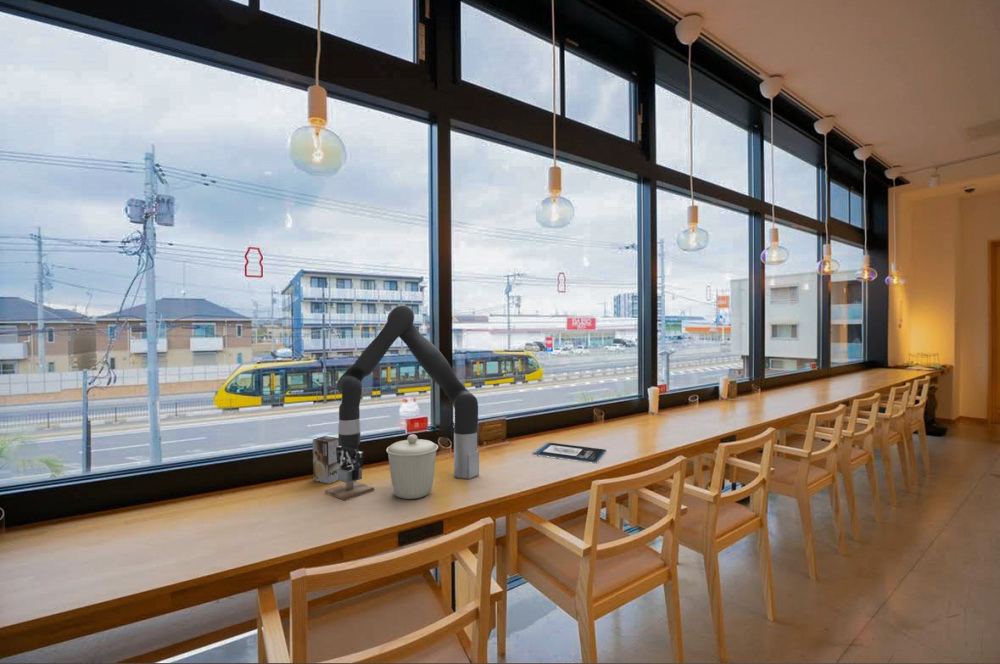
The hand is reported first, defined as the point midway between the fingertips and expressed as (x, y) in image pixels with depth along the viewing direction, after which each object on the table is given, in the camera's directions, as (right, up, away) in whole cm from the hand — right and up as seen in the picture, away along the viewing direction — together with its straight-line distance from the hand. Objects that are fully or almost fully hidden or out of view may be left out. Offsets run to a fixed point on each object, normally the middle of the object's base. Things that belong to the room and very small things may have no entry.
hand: (349, 477), depth 156 cm
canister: (+23, -5, -3) cm, 24 cm away
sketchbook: (+87, -5, +47) cm, 99 cm away
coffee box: (-13, -5, +12) cm, 19 cm away
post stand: (0, -5, 0) cm, 5 cm away
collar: (0, -1, 0) cm, 1 cm away
